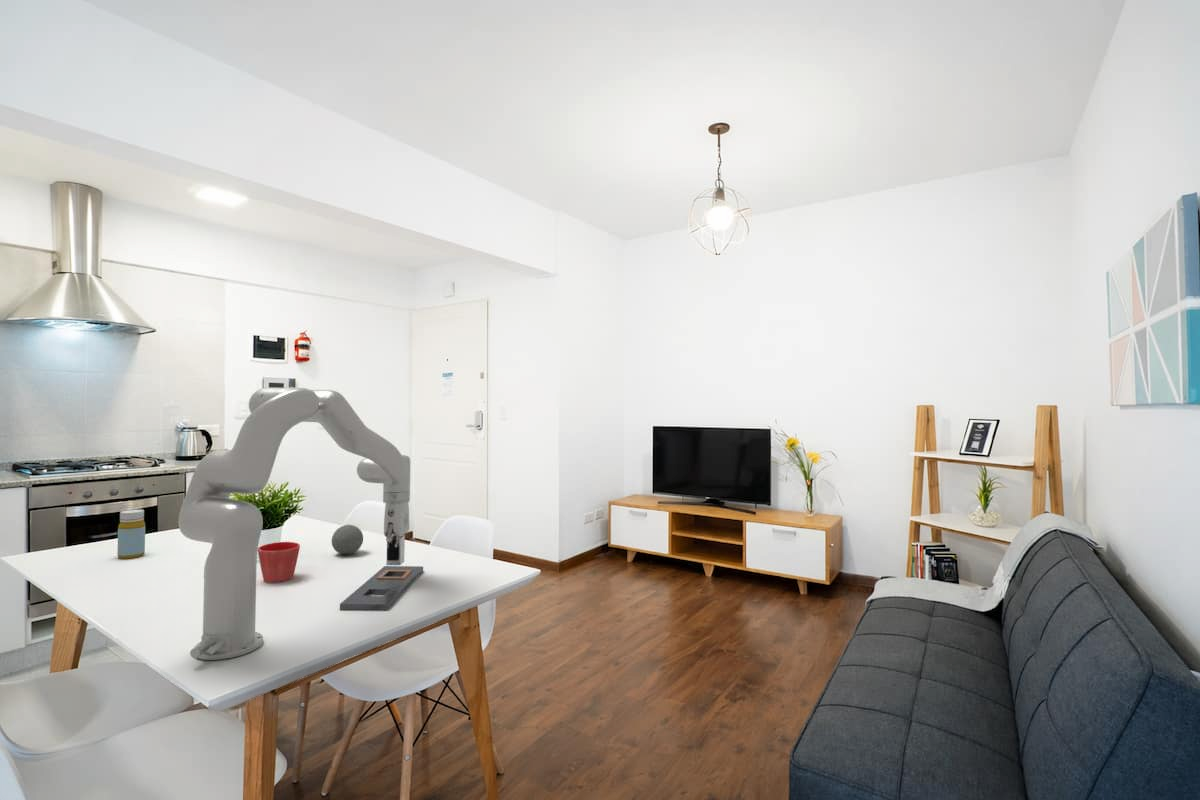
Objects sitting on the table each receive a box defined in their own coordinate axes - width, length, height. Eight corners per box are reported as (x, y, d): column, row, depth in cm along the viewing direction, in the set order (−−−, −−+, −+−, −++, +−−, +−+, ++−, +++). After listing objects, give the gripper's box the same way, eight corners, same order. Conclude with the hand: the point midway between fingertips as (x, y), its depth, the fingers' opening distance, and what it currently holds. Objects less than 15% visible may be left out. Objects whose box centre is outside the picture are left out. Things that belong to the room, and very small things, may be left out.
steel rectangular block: (400, 565, 171) (400, 538, 171) (386, 565, 171) (386, 538, 171) (404, 561, 175) (404, 535, 175) (390, 561, 175) (391, 534, 175)
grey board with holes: (387, 610, 148) (387, 603, 148) (339, 609, 148) (339, 602, 148) (423, 571, 182) (423, 565, 182) (384, 570, 182) (384, 565, 182)
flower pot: (287, 584, 167) (288, 551, 167) (249, 584, 167) (250, 550, 167) (306, 573, 177) (306, 542, 177) (270, 573, 177) (270, 541, 177)
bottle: (123, 554, 194) (124, 509, 194) (148, 553, 196) (149, 508, 196) (113, 560, 188) (114, 513, 188) (138, 558, 190) (140, 512, 190)
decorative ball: (325, 557, 196) (326, 527, 196) (340, 550, 206) (340, 521, 206) (354, 558, 195) (355, 528, 195) (367, 550, 205) (368, 522, 205)
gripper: (400, 501, 165) (399, 566, 165) (417, 492, 182) (416, 550, 182) (373, 501, 165) (372, 566, 165) (392, 492, 182) (391, 550, 182)
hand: (395, 557), depth 173 cm, fingers closed on steel rectangular block, 4 cm apart
